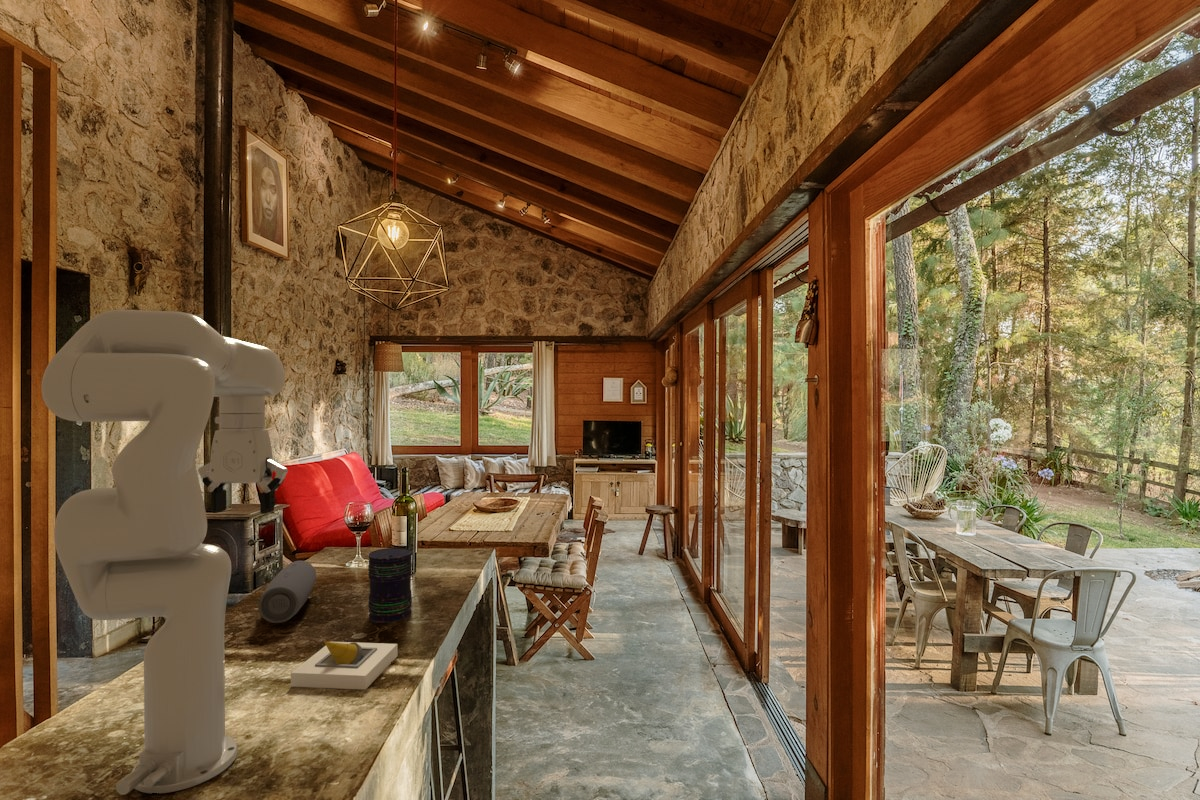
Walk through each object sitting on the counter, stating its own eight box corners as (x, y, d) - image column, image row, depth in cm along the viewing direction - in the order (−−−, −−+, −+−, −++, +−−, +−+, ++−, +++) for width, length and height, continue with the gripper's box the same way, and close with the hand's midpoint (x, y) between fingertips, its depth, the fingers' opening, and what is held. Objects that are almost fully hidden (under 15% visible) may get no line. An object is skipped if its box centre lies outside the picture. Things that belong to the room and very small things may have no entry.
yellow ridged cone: (369, 672, 118) (333, 650, 112) (346, 682, 119) (309, 660, 113) (373, 647, 122) (339, 624, 116) (351, 656, 123) (316, 633, 117)
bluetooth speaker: (279, 598, 160) (279, 559, 159) (318, 594, 162) (318, 557, 162) (255, 630, 138) (255, 586, 138) (300, 626, 140) (300, 583, 140)
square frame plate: (365, 689, 111) (365, 674, 110) (290, 686, 112) (290, 671, 112) (397, 656, 124) (397, 642, 124) (330, 653, 126) (330, 640, 126)
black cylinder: (368, 610, 150) (368, 549, 150) (410, 605, 154) (410, 546, 153) (368, 625, 141) (368, 560, 141) (413, 619, 144) (413, 556, 144)
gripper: (185, 423, 115) (186, 515, 115) (273, 424, 114) (274, 516, 114) (213, 421, 122) (214, 507, 123) (297, 422, 121) (297, 509, 121)
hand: (243, 511), depth 118 cm, fingers open, 9 cm apart
